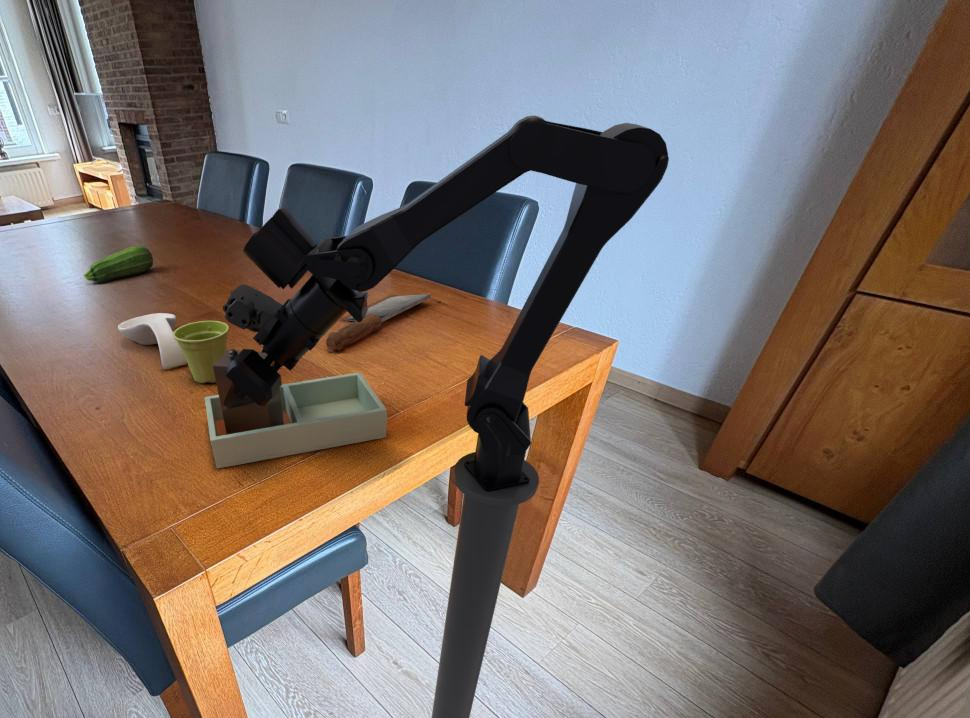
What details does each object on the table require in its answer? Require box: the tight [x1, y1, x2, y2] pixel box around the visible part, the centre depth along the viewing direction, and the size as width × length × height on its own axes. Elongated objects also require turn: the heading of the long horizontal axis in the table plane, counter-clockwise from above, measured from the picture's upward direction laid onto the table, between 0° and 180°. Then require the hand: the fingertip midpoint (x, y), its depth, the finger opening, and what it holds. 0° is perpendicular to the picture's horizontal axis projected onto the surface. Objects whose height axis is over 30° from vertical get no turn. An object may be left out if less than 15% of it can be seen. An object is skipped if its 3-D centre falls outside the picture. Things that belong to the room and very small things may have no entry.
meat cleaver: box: [325, 293, 432, 352], centre depth 109 cm, size 34×11×4 cm, turn 140°
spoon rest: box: [117, 312, 188, 370], centre depth 101 cm, size 24×12×7 cm, turn 32°
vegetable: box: [83, 245, 154, 284], centre depth 144 cm, size 7×7×20 cm
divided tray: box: [204, 371, 388, 469], centre depth 75 cm, size 13×24×5 cm, turn 105°
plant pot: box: [173, 320, 230, 384], centre depth 89 cm, size 9×9×9 cm
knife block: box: [213, 348, 284, 435], centre depth 71 cm, size 5×7×13 cm
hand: (239, 390), depth 71 cm, fingers open, 9 cm apart
